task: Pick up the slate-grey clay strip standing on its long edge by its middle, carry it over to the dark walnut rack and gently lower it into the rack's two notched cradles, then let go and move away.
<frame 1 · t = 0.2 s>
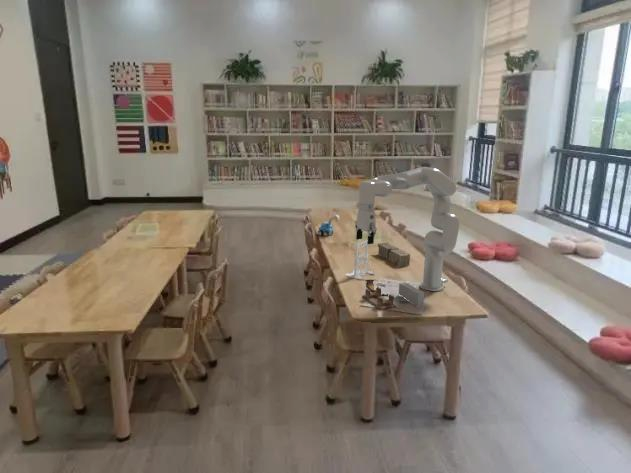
hand: (364, 241, 225), 31 cm above the table, tool pointing down, fingers open, 9 cm apart
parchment: (377, 288, 250), on the table
rack: (379, 302, 231), on the table
toy excavator: (328, 235, 357), on the table
grey-brown long block: (393, 260, 300), on the table
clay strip: (410, 300, 234), on the table
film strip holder: (359, 275, 270), on the table
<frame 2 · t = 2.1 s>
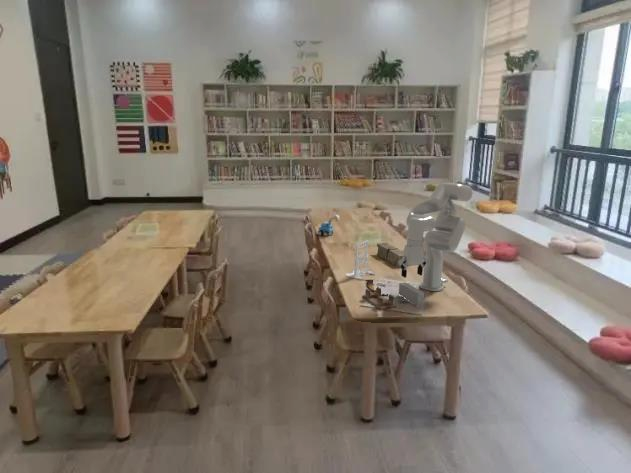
hand: (411, 275, 230), 13 cm above the table, tool pointing down, fingers open, 9 cm apart
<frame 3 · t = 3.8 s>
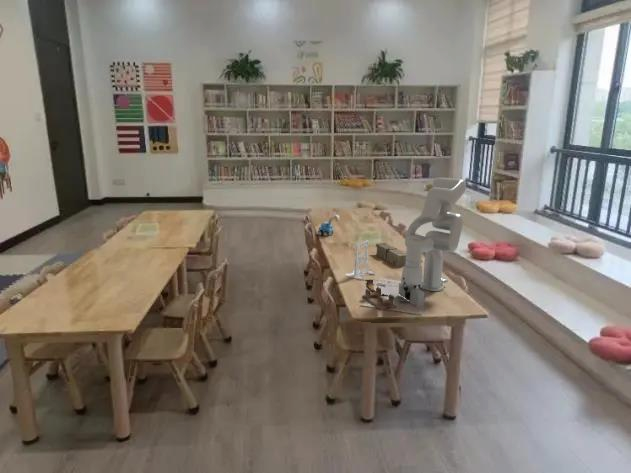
hand: (410, 297, 233), 1 cm above the table, tool pointing down, fingers closed on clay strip, 3 cm apart
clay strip: (410, 300, 233), on the table, touching gripper
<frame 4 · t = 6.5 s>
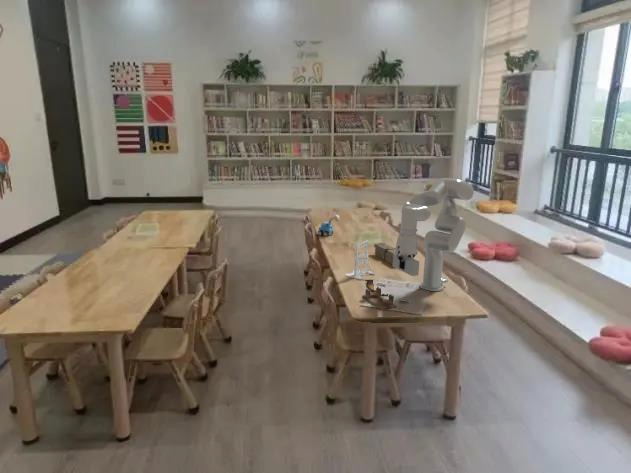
hand: (405, 267, 228), 18 cm above the table, tool pointing down, fingers closed on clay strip, 3 cm apart
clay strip: (405, 270, 228), point 16 cm above the table, touching gripper
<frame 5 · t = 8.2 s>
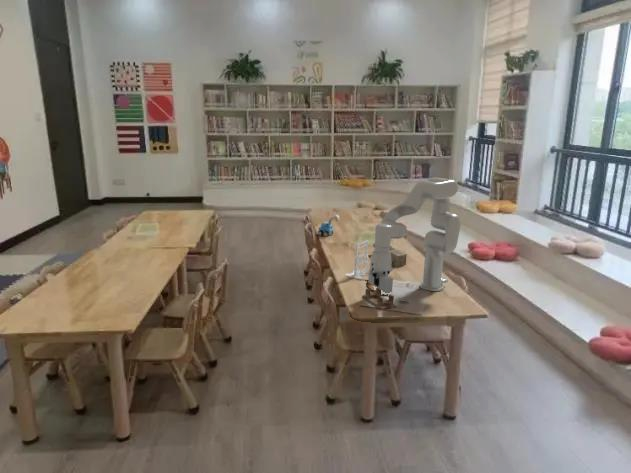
hand: (379, 284, 228), 9 cm above the table, tool pointing down, fingers closed on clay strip, 3 cm apart
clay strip: (379, 287, 229), point 8 cm above the table, touching gripper
when the fingers open (5 cm above the table, at t = 9.5 s): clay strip stays where it is, resting on rack.
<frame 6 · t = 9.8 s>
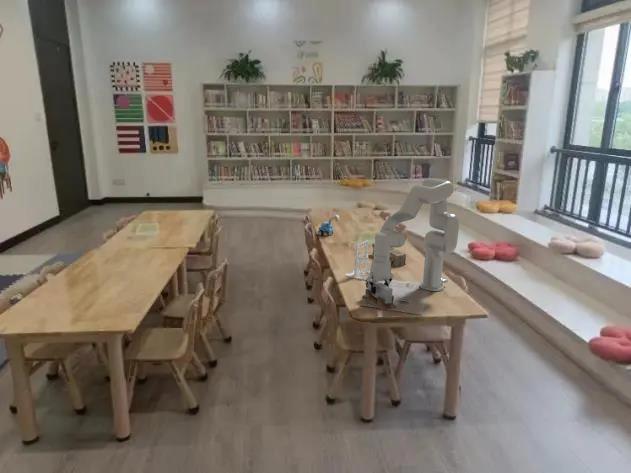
hand: (379, 292, 229), 5 cm above the table, tool pointing down, fingers open, 6 cm apart
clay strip: (379, 297, 230), point 2 cm above the table, touching rack
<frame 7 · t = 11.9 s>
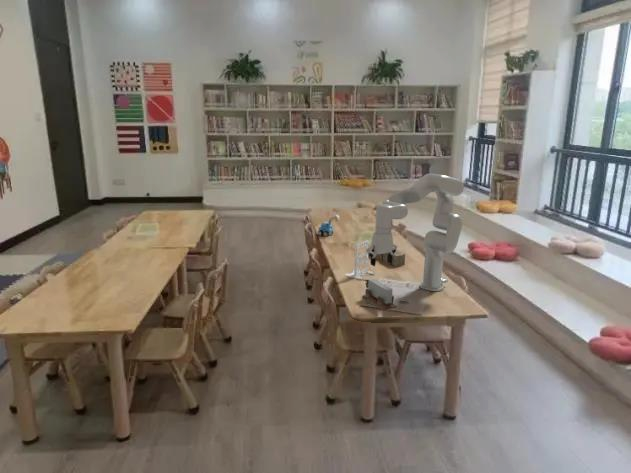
hand: (381, 264, 226), 20 cm above the table, tool pointing down, fingers open, 9 cm apart
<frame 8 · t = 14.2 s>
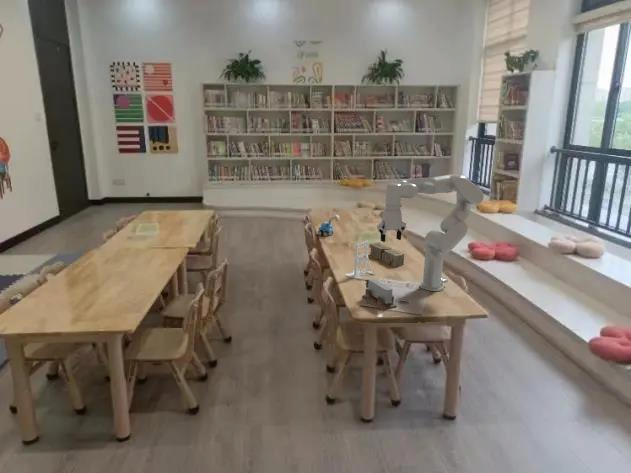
hand: (390, 240, 237), 28 cm above the table, tool pointing down, fingers open, 9 cm apart
at the end: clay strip 0.1 cm off-centre on the rack, point 2.5 cm above the rack's base; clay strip tilted 0°; the gripper is holding nothing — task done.
